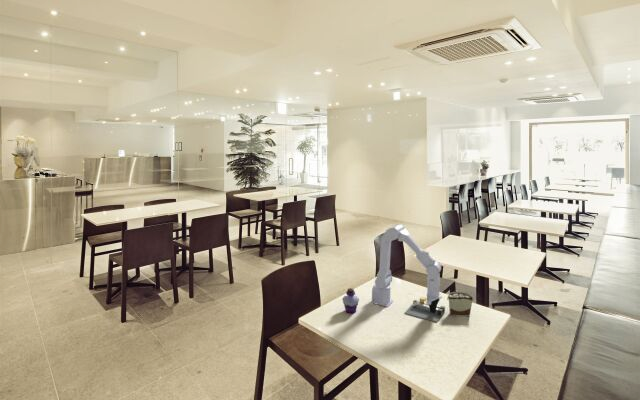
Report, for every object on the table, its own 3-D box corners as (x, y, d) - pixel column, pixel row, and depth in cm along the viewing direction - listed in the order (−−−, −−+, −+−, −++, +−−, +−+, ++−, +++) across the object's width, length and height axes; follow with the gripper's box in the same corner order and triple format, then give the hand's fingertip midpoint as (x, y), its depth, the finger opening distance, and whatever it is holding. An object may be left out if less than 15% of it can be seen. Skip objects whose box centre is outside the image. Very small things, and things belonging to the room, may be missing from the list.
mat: (404, 313, 167) (404, 312, 167) (413, 303, 177) (413, 302, 177) (437, 322, 158) (437, 321, 158) (444, 311, 168) (444, 310, 168)
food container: (468, 309, 169) (469, 291, 168) (472, 315, 163) (473, 296, 162) (443, 309, 170) (444, 290, 169) (447, 315, 164) (447, 296, 163)
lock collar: (419, 302, 172) (419, 298, 171) (421, 300, 174) (421, 296, 174) (424, 303, 170) (424, 299, 170) (425, 301, 173) (426, 297, 172)
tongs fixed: (413, 305, 174) (413, 300, 174) (414, 303, 176) (414, 299, 175) (443, 313, 165) (444, 308, 165) (444, 311, 167) (445, 306, 167)
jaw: (411, 307, 172) (412, 300, 171) (414, 305, 174) (414, 299, 173) (441, 316, 162) (441, 309, 162) (443, 314, 164) (443, 307, 164)
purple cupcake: (359, 307, 174) (358, 285, 172) (359, 315, 166) (359, 293, 164) (342, 307, 175) (342, 285, 173) (342, 315, 167) (341, 292, 165)
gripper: (437, 293, 154) (436, 320, 156) (445, 283, 166) (445, 308, 168) (422, 290, 158) (421, 316, 160) (431, 280, 170) (431, 305, 172)
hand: (432, 312), depth 164 cm, fingers closed
